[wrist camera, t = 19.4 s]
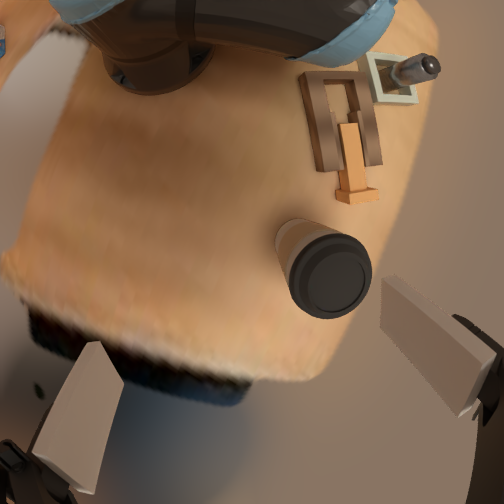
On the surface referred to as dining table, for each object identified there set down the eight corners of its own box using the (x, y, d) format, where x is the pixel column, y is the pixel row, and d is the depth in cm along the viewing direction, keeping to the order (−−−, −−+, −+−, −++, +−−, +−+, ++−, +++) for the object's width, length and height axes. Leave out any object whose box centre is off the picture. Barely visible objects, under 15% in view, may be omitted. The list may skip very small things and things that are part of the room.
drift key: (325, 126, 34) (338, 123, 30) (353, 124, 34) (368, 121, 30) (336, 199, 37) (350, 204, 33) (363, 195, 38) (378, 199, 34)
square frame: (355, 56, 31) (365, 50, 28) (396, 60, 32) (407, 56, 29) (367, 104, 34) (378, 101, 31) (407, 105, 34) (418, 103, 31)
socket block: (298, 78, 32) (304, 71, 29) (355, 76, 32) (365, 71, 29) (316, 171, 36) (324, 172, 33) (372, 163, 37) (382, 164, 34)
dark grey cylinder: (371, 70, 32) (420, 48, 20) (389, 72, 32) (439, 53, 21) (376, 92, 33) (427, 75, 22) (394, 93, 33) (446, 79, 22)
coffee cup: (310, 198, 37) (363, 221, 23) (337, 251, 40) (391, 295, 26) (254, 233, 38) (277, 276, 24) (286, 283, 41) (319, 343, 27)
